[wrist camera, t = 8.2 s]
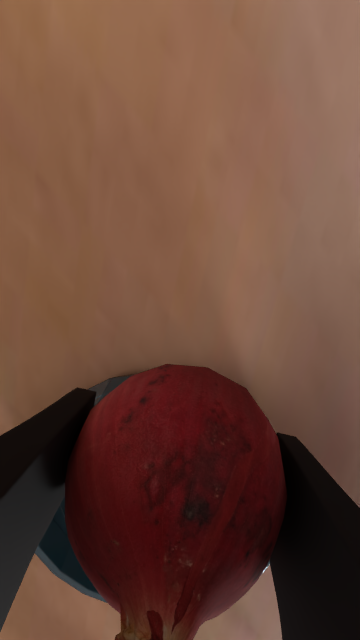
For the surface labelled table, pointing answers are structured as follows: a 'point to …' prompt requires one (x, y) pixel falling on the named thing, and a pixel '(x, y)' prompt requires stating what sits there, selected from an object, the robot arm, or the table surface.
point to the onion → (174, 499)
